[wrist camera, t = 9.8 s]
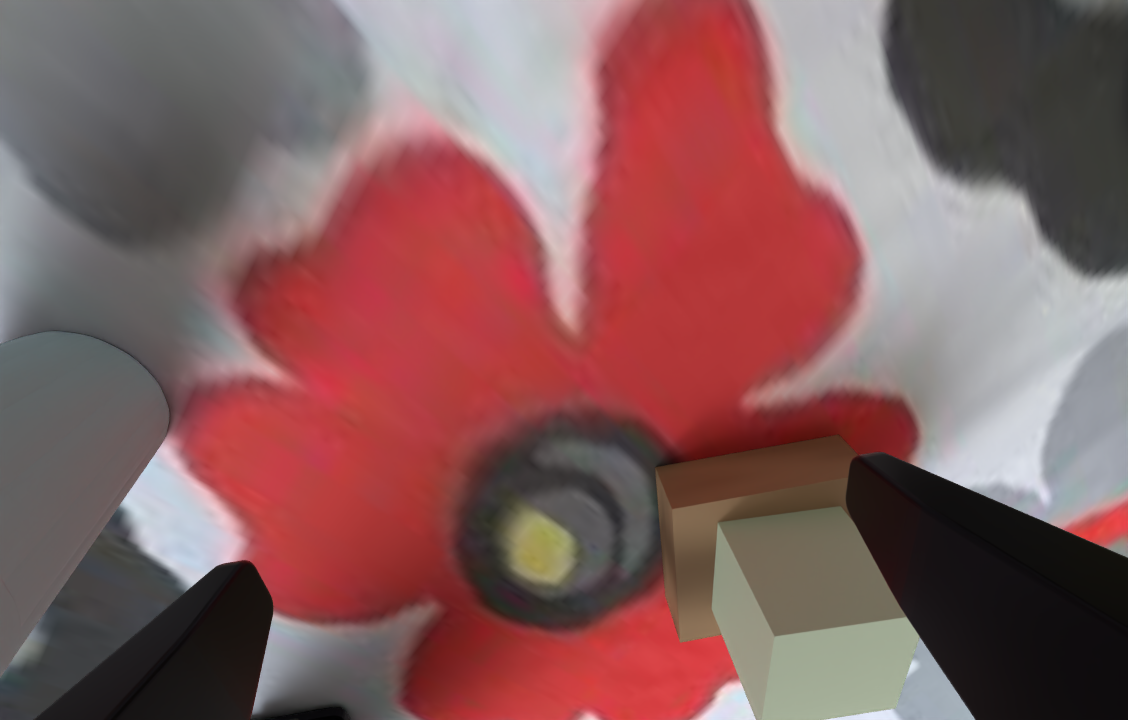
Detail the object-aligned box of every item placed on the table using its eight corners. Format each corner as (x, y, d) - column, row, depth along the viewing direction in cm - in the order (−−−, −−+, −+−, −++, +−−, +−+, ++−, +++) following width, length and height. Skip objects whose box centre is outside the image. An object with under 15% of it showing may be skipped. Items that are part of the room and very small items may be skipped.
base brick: (818, 558, 28) (852, 609, 25) (662, 587, 27) (680, 642, 25) (833, 428, 24) (874, 472, 21) (652, 460, 24) (672, 509, 21)
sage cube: (840, 506, 22) (927, 614, 17) (822, 593, 24) (895, 708, 20) (717, 522, 22) (774, 636, 17) (711, 609, 24) (759, 729, 19)
